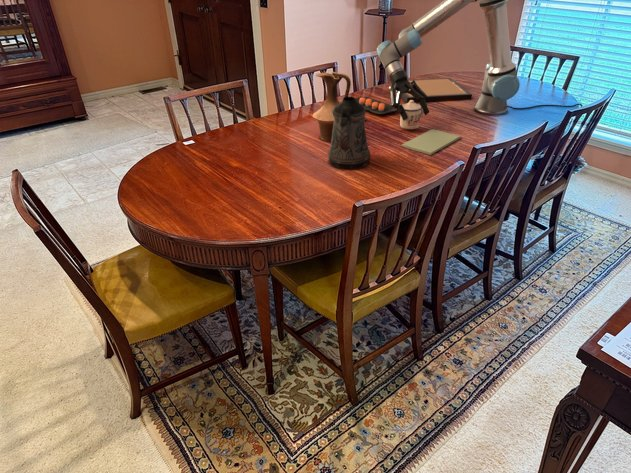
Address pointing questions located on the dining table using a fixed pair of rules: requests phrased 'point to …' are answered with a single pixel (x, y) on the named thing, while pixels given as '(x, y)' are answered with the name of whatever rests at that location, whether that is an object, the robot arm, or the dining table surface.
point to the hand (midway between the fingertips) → (416, 116)
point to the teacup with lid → (411, 115)
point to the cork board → (439, 90)
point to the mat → (431, 141)
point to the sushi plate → (375, 106)
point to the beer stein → (348, 136)
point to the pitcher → (329, 103)
